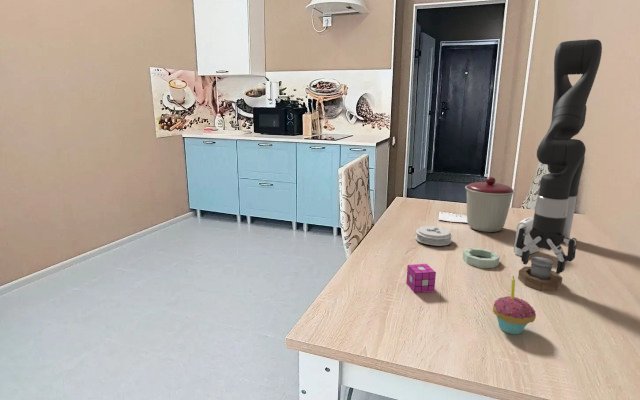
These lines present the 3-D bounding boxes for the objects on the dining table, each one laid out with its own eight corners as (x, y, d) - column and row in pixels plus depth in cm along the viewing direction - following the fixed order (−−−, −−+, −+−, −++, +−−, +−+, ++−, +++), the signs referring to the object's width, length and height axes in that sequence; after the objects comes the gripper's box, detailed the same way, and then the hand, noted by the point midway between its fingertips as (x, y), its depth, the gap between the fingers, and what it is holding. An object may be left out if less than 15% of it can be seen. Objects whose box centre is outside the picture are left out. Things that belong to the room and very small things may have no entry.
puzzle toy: (425, 282, 109) (426, 263, 108) (434, 291, 104) (436, 272, 102) (406, 283, 108) (407, 264, 107) (414, 293, 103) (415, 273, 102)
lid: (447, 236, 147) (448, 224, 146) (454, 249, 135) (456, 235, 133) (413, 235, 148) (414, 222, 147) (417, 247, 136) (418, 233, 135)
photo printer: (527, 247, 136) (533, 213, 133) (540, 251, 133) (545, 217, 130) (511, 253, 131) (516, 218, 128) (523, 257, 127) (529, 221, 124)
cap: (532, 274, 114) (535, 255, 112) (552, 280, 110) (556, 261, 108) (525, 280, 110) (528, 260, 108) (546, 286, 106) (549, 266, 105)
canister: (512, 226, 159) (519, 176, 154) (505, 239, 144) (513, 183, 139) (466, 219, 168) (471, 171, 163) (456, 230, 154) (461, 178, 148)
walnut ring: (526, 271, 117) (528, 263, 116) (564, 282, 110) (565, 274, 109) (513, 281, 110) (515, 273, 109) (552, 294, 103) (554, 285, 102)
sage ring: (472, 252, 131) (473, 245, 130) (502, 261, 124) (503, 254, 123) (458, 260, 124) (458, 253, 124) (489, 270, 117) (489, 262, 116)
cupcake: (483, 318, 91) (489, 271, 88) (518, 317, 92) (525, 270, 89) (503, 340, 83) (510, 289, 80) (541, 339, 83) (549, 288, 80)
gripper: (585, 215, 102) (574, 272, 106) (527, 205, 112) (520, 257, 116) (576, 221, 97) (565, 280, 101) (517, 209, 107) (509, 264, 111)
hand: (541, 268), depth 109 cm, fingers open, 8 cm apart
